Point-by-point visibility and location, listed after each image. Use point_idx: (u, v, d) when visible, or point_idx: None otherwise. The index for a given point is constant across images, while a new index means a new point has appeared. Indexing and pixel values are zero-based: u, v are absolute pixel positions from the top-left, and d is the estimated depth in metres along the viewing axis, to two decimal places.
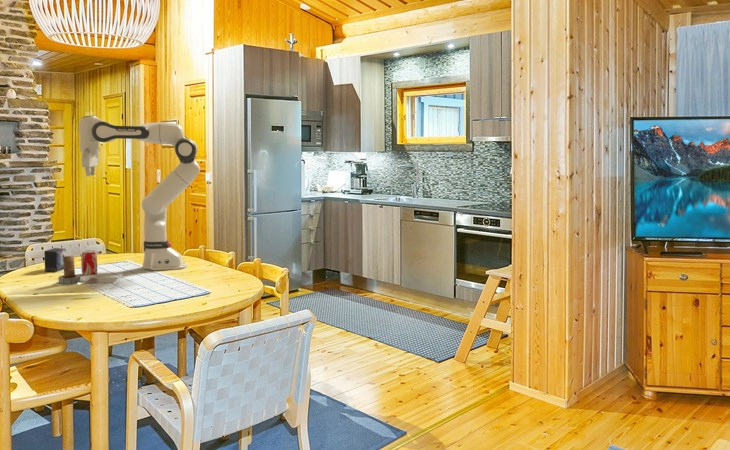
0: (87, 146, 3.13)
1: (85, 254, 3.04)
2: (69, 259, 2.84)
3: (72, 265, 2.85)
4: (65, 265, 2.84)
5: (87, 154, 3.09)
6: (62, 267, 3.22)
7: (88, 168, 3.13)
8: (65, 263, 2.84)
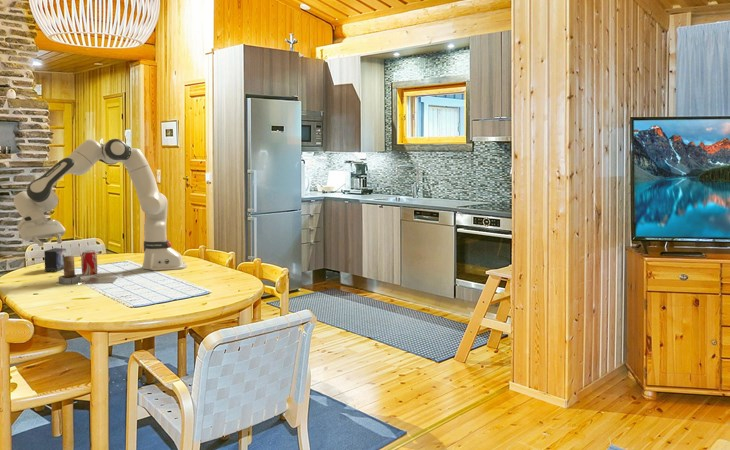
0: None
1: (85, 254, 3.04)
2: (69, 259, 2.84)
3: (72, 265, 2.85)
4: (65, 265, 2.84)
5: None
6: (62, 267, 3.22)
7: None
8: (65, 263, 2.84)
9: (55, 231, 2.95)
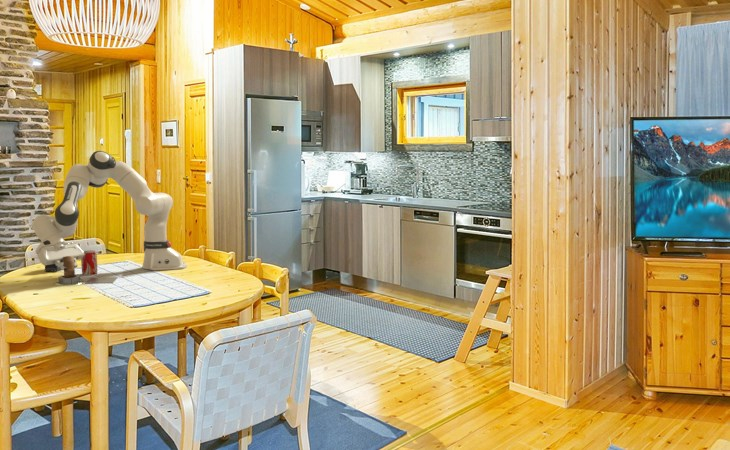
0: None
1: (85, 254, 3.04)
2: (69, 259, 2.84)
3: (72, 265, 2.85)
4: (65, 265, 2.84)
5: None
6: None
7: None
8: (65, 263, 2.84)
9: (74, 255, 2.90)
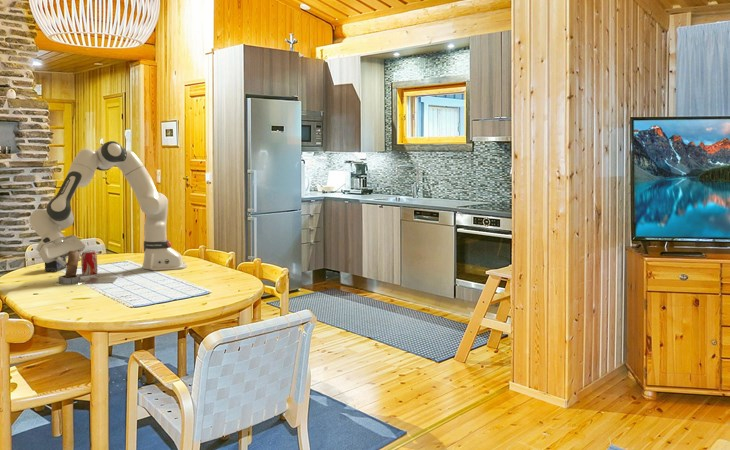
0: None
1: (85, 254, 3.04)
2: (73, 253, 2.87)
3: (75, 259, 2.87)
4: (69, 258, 2.87)
5: None
6: (62, 267, 3.22)
7: None
8: (69, 256, 2.87)
9: (75, 248, 2.92)
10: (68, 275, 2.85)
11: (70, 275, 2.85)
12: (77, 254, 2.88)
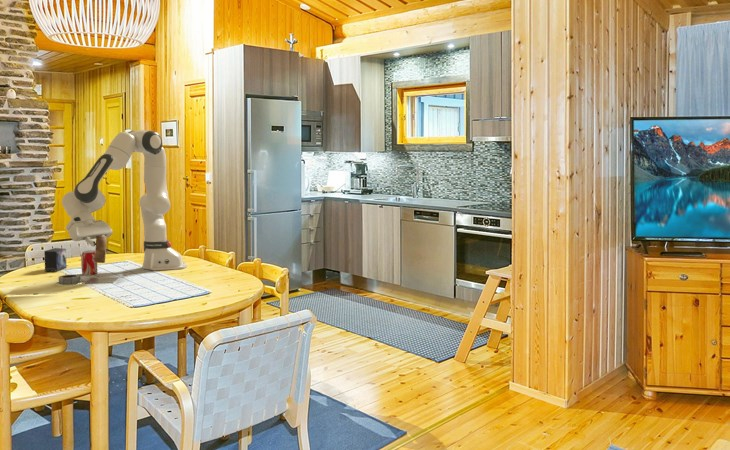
0: None
1: (85, 254, 3.04)
2: (102, 238, 2.87)
3: (104, 244, 2.88)
4: (98, 244, 2.87)
5: None
6: (62, 267, 3.22)
7: None
8: (98, 242, 2.87)
9: (103, 232, 2.94)
10: (99, 261, 2.87)
11: (101, 260, 2.87)
12: (105, 239, 2.89)
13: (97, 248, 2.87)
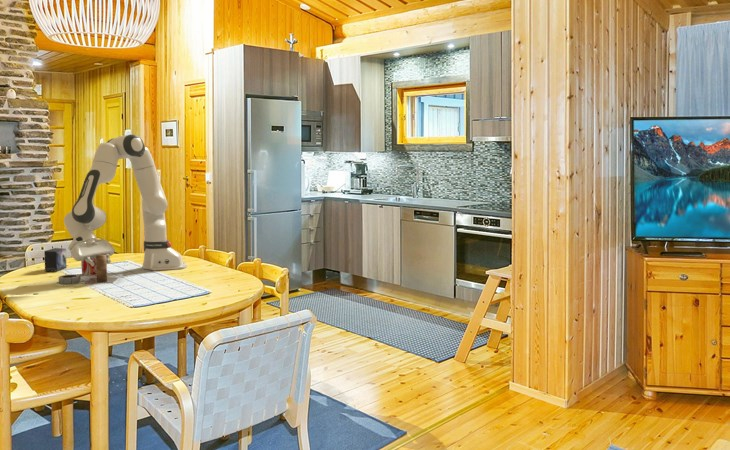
0: None
1: None
2: (102, 257, 2.87)
3: (104, 263, 2.88)
4: (98, 263, 2.87)
5: None
6: (62, 267, 3.22)
7: None
8: (98, 261, 2.87)
9: (105, 251, 2.95)
10: (101, 280, 2.88)
11: (103, 280, 2.88)
12: (105, 258, 2.89)
13: (98, 268, 2.87)
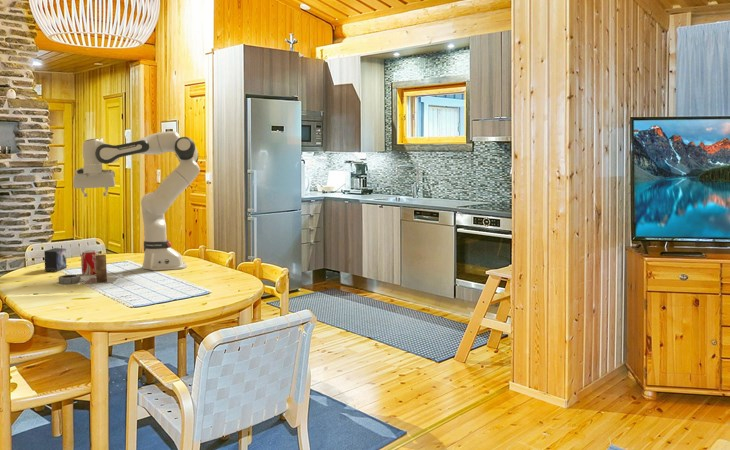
0: None
1: (85, 254, 3.04)
2: (102, 258, 2.87)
3: (104, 263, 2.88)
4: (98, 264, 2.87)
5: None
6: (62, 267, 3.22)
7: None
8: (98, 262, 2.87)
9: (103, 185, 3.31)
10: (101, 280, 2.88)
11: (103, 280, 2.88)
12: (105, 258, 2.89)
13: (97, 268, 2.87)
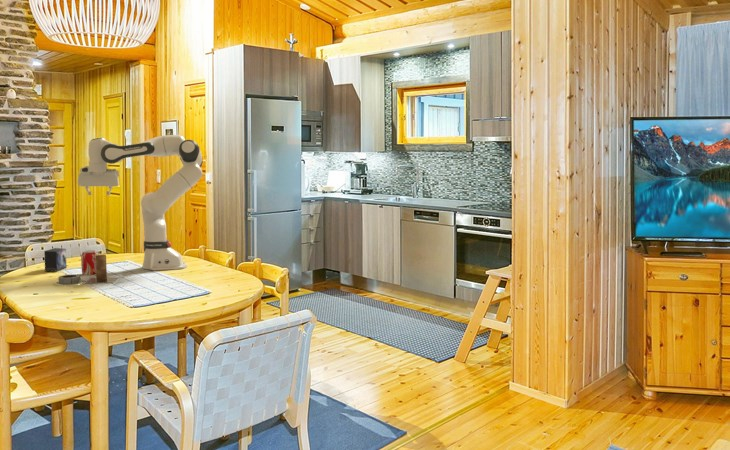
0: (106, 167, 3.35)
1: (85, 254, 3.04)
2: (102, 258, 2.87)
3: (104, 263, 2.88)
4: (98, 264, 2.87)
5: None
6: (62, 267, 3.22)
7: (111, 187, 3.37)
8: (98, 262, 2.87)
9: (106, 184, 3.34)
10: (101, 280, 2.88)
11: (103, 280, 2.88)
12: (105, 258, 2.89)
13: (98, 268, 2.87)
